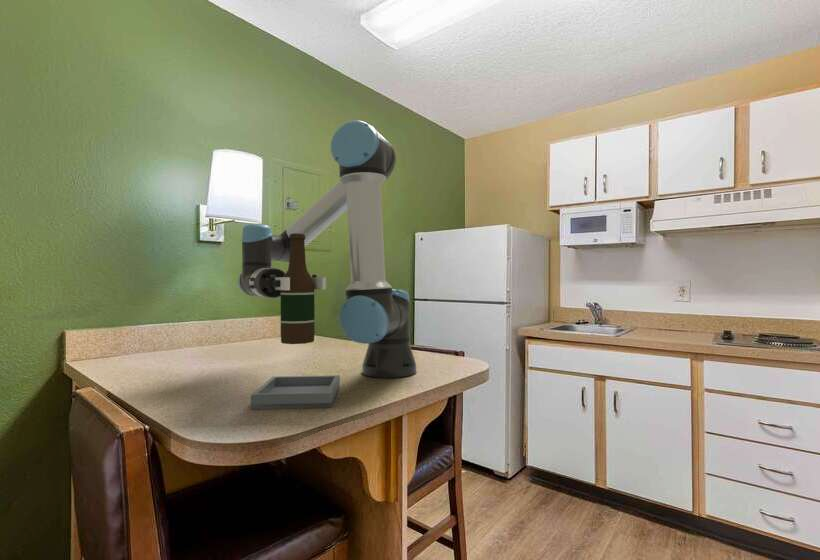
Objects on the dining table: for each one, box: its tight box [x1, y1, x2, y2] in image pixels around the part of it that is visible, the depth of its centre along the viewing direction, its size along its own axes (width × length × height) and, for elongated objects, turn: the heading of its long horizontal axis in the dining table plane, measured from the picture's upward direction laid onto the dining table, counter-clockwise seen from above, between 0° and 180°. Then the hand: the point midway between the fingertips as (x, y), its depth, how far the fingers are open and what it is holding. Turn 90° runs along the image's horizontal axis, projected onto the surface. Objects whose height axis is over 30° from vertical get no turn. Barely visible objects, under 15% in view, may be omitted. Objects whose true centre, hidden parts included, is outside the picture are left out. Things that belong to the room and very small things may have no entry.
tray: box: [250, 374, 341, 410], centre depth 94 cm, size 16×16×3 cm
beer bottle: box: [280, 233, 316, 345], centre depth 94 cm, size 8×8×24 cm
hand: (306, 283), depth 90 cm, fingers closed on beer bottle, 7 cm apart
